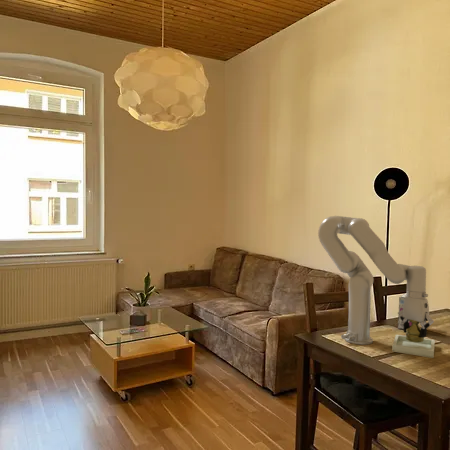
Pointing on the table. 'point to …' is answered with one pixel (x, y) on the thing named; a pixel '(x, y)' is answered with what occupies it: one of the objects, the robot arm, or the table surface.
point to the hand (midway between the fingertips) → (414, 334)
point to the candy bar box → (401, 303)
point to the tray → (413, 346)
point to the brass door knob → (414, 332)
